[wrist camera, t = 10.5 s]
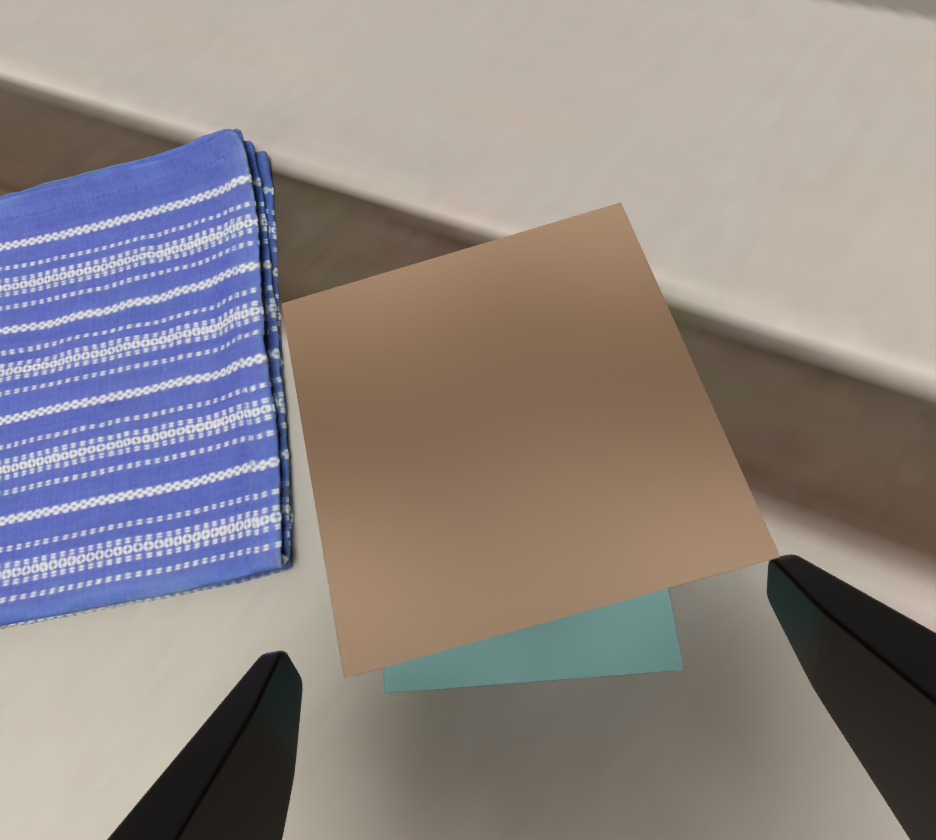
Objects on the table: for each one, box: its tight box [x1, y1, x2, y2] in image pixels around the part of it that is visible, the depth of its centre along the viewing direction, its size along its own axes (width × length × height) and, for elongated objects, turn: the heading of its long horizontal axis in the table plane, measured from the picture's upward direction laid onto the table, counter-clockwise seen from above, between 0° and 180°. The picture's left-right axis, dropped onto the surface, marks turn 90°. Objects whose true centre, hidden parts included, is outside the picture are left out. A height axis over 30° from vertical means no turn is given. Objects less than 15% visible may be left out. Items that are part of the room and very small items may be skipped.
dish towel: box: [0, 129, 293, 629], centre depth 26 cm, size 17×24×3 cm
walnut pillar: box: [282, 203, 780, 678], centre depth 13 cm, size 5×5×13 cm
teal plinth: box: [383, 588, 684, 693], centre depth 21 cm, size 10×10×4 cm
